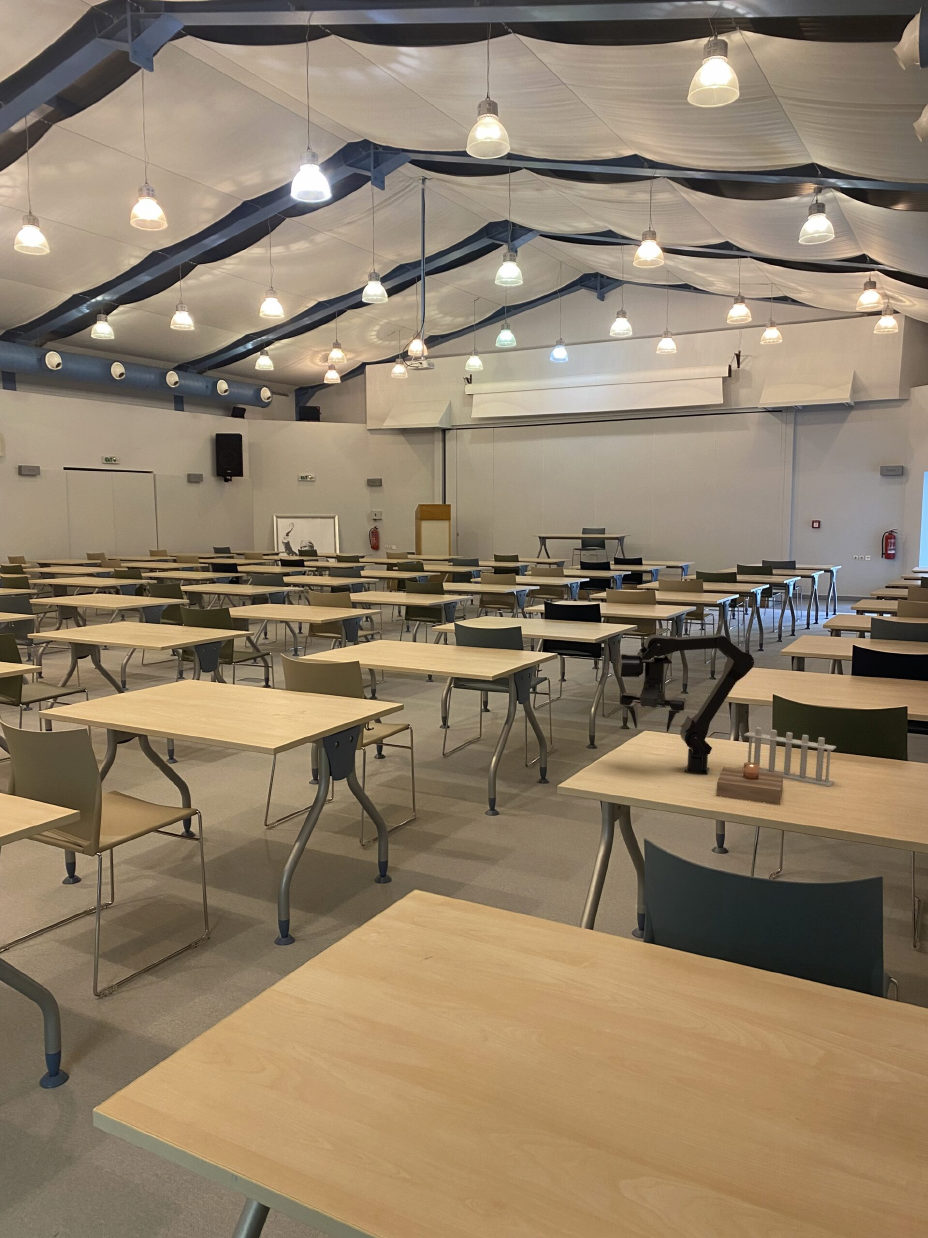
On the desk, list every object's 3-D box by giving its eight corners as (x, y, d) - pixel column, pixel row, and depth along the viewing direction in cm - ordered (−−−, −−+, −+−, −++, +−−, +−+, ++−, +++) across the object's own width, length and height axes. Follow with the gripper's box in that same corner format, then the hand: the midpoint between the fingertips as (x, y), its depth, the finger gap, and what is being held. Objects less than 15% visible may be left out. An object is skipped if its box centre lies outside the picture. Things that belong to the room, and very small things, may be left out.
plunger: (743, 788, 230) (744, 761, 229) (758, 790, 229) (759, 763, 228) (741, 792, 227) (743, 765, 226) (757, 794, 225) (758, 767, 224)
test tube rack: (833, 784, 237) (837, 738, 236) (829, 787, 234) (833, 741, 232) (746, 767, 252) (749, 724, 251) (741, 770, 249) (744, 727, 247)
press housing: (722, 780, 238) (723, 766, 238) (782, 788, 232) (783, 774, 231) (716, 796, 223) (717, 781, 223) (779, 804, 217) (780, 790, 217)
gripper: (616, 679, 241) (614, 732, 242) (682, 685, 233) (679, 739, 235) (624, 673, 251) (622, 724, 252) (688, 679, 243) (685, 731, 245)
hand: (651, 730), depth 246 cm, fingers open, 9 cm apart
